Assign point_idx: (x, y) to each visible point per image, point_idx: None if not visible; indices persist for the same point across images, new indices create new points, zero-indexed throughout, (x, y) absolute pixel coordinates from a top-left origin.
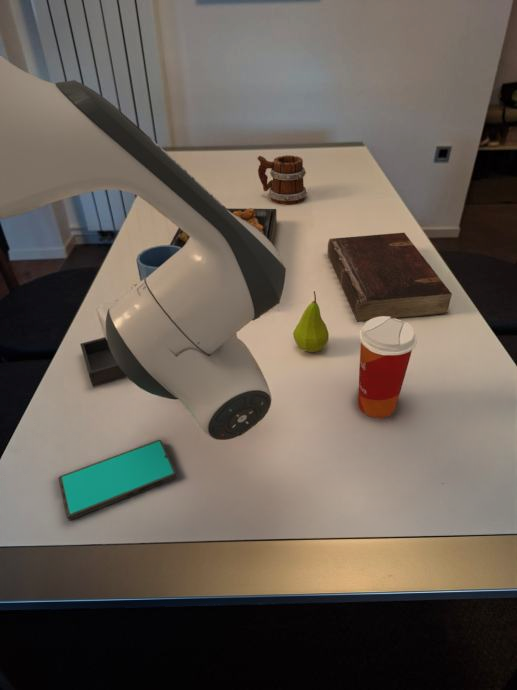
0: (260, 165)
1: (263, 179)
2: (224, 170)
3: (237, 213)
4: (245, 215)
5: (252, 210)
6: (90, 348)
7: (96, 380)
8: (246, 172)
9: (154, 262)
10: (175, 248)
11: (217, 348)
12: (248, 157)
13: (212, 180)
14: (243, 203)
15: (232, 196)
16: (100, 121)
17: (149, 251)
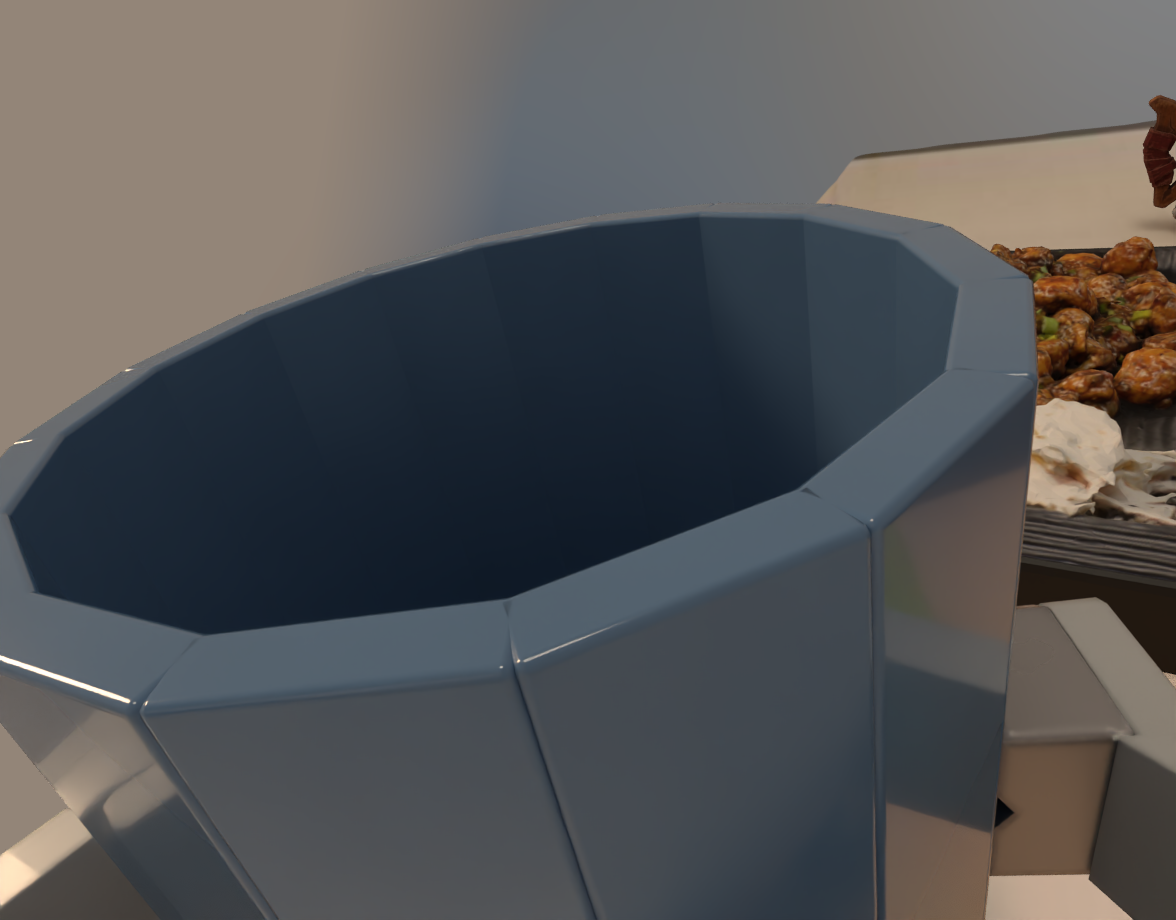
0: (1157, 125)
1: (1160, 169)
2: (1007, 179)
3: (1078, 260)
4: (1115, 262)
5: (1147, 244)
6: None
7: None
8: (1075, 178)
9: (527, 425)
10: (786, 238)
11: None
12: (1076, 149)
13: (972, 201)
14: (1077, 246)
15: (1037, 231)
16: None
17: (440, 283)
